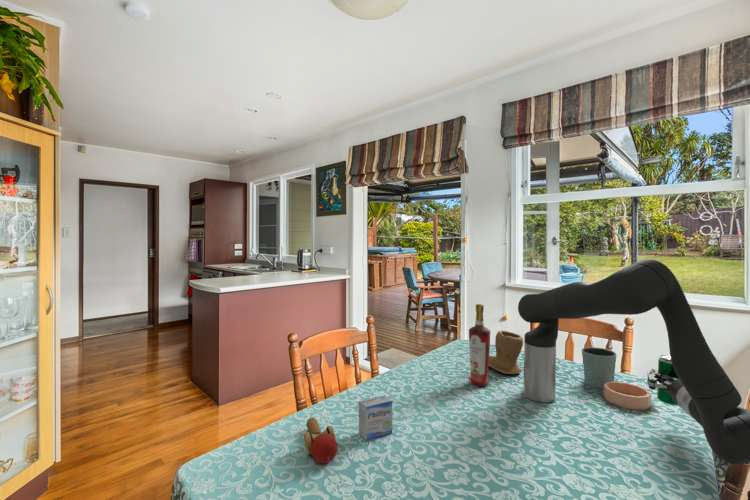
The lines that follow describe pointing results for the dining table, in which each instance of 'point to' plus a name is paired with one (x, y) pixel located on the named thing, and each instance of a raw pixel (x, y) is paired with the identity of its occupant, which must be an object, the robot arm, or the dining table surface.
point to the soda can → (667, 369)
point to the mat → (651, 409)
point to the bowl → (627, 395)
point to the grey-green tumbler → (598, 366)
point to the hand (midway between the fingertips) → (665, 373)
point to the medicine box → (375, 417)
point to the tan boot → (506, 352)
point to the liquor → (479, 349)
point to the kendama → (320, 442)
